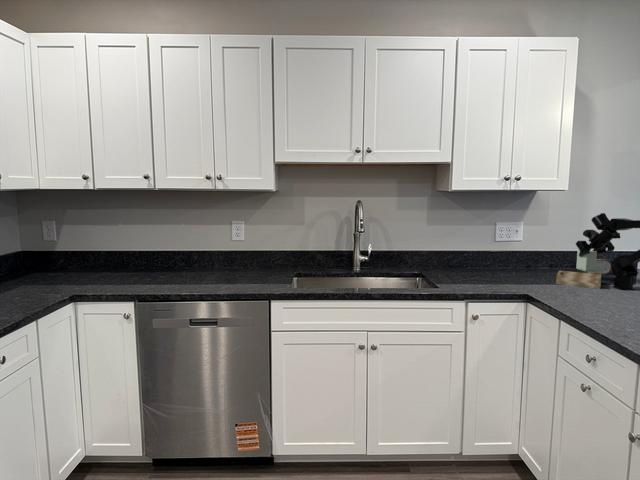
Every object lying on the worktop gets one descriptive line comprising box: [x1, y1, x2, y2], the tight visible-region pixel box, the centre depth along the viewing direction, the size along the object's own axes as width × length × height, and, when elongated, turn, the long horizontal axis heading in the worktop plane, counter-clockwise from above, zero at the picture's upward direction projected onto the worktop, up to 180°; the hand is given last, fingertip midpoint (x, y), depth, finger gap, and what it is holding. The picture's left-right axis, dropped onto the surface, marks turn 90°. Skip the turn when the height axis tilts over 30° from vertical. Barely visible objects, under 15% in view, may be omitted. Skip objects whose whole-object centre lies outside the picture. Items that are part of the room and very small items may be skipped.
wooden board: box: [555, 270, 602, 290], centre depth 203 cm, size 18×14×4 cm
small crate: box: [575, 249, 598, 272], centre depth 214 cm, size 6×6×10 cm
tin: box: [582, 258, 612, 275], centre depth 228 cm, size 15×3×8 cm, turn 84°
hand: (584, 255), depth 215 cm, fingers closed on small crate, 6 cm apart
